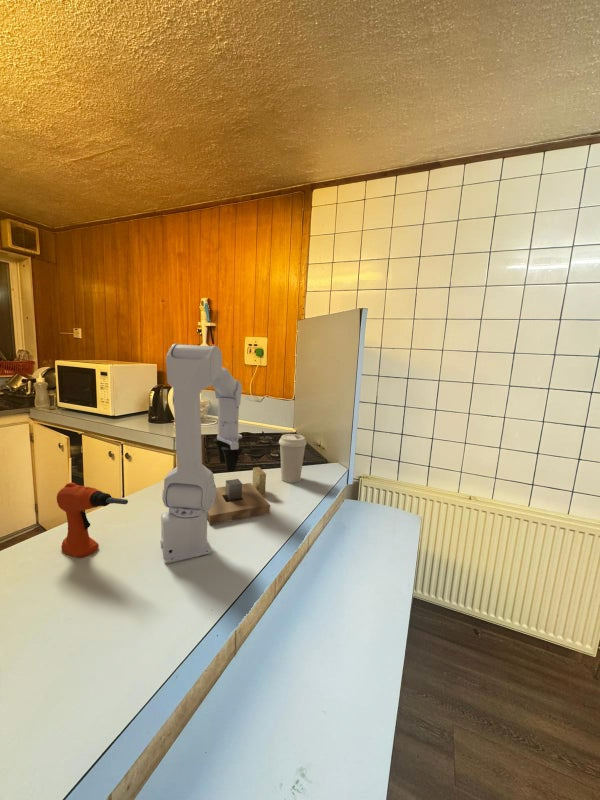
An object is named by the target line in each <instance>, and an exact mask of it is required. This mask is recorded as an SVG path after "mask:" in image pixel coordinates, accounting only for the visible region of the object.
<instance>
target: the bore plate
mask: <svg viewBox="0 0 600 800" xmlns="http://www.w3.org/2000/svg"><path fill="white" fill-rule="evenodd" d="M252 484H253V483H252V482H246V483H242V500H238V501H232V502H226V501H225V492H226V485H225V486H218V487H216V498H215V502H214V505H213V506H212V508H211V509H210V510H209V511H207V523H208V524H209V526H212V525H218V524H222V523H227V522H233V521H237V520H238V521H239V520H244V519H247V518H253V517H259V516H264V515H269V514H270V513H271V512H270V511H271V504H270V503H269V501H267V500H266V499H265V497H264V496H262V495H261V494H260V493H259V492H258V491H257V490H256V488H255V487H254V486H253V485H252Z"/></svg>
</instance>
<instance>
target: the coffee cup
mask: <svg viewBox="0 0 600 800" xmlns="http://www.w3.org/2000/svg"><path fill="white" fill-rule="evenodd" d="M278 444H279V449H280V450H279V451H280V472H281V473H280V474H281V477H280V478H281V480H282V482H284V483H288V482H289V484H293V483H292V482H295V483H298V482H297V481H299V480H300V481H301V476H302V470H303V463H304V462H303V461H304V455H305V450H306V445H307V444H308V442H307V440H306V437H305V436H304V435H301V434H295V433H287V434H283V435H281V436H280V438H279V440H278ZM300 481H299V482H300Z"/></svg>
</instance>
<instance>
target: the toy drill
mask: <svg viewBox="0 0 600 800" xmlns="http://www.w3.org/2000/svg"><path fill="white" fill-rule="evenodd" d="M56 503H57V505H58V507H59V508H60V510H62V511H63V512H65V515H66V520H67V534H66V537H65V538H64V539H63V540H62V543H61V548H60V549H61V552H63V554H65V555H67V556H69V555H70V556H69V557H72V558H77V557H78V558H77V559H79V558H85V557H86V558H87V557H89V556H91V555H93V554H94V553H96V552H97V551H98V549H99V547H100V545H99V543H98V542H97V541H96V540H95V539H93V538H92V537H90V534H89V531H88V529H89V528H90V526H91V523H90V522H89V519H88V518H87V514H86V513H85V511H87V510H91V509H96V508H98V507H107V506H109V505H110V504H115V505H116V504H119V505H127V504H128V503H129V500H128V499H124V498H116V497H112V495H111V494H110V493H105V492H102V491H101V490H98V489H97V488H95V487H91V486H85V485H79V484H77V483H75V482H72V481H71V482H68V483H66V484H65V485H64V487H62V488H61V489H60V490H59V491H58V492H57V494H56Z"/></svg>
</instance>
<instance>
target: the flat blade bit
mask: <svg viewBox="0 0 600 800" xmlns="http://www.w3.org/2000/svg"><path fill="white" fill-rule="evenodd" d="M266 478H267V473H266V472H265V471H264V470H263V469H262V468H261V467H260V466H257V467H253V468H252V483H251V484H252V485H253V486H254V487H255V488H256V490H257V491H258V492H259V493H260V494H261V495H262V496H263V497H264V496H266V487H267V486H266V484H267V483H266V482H267V481H266V480H267V479H266Z"/></svg>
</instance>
